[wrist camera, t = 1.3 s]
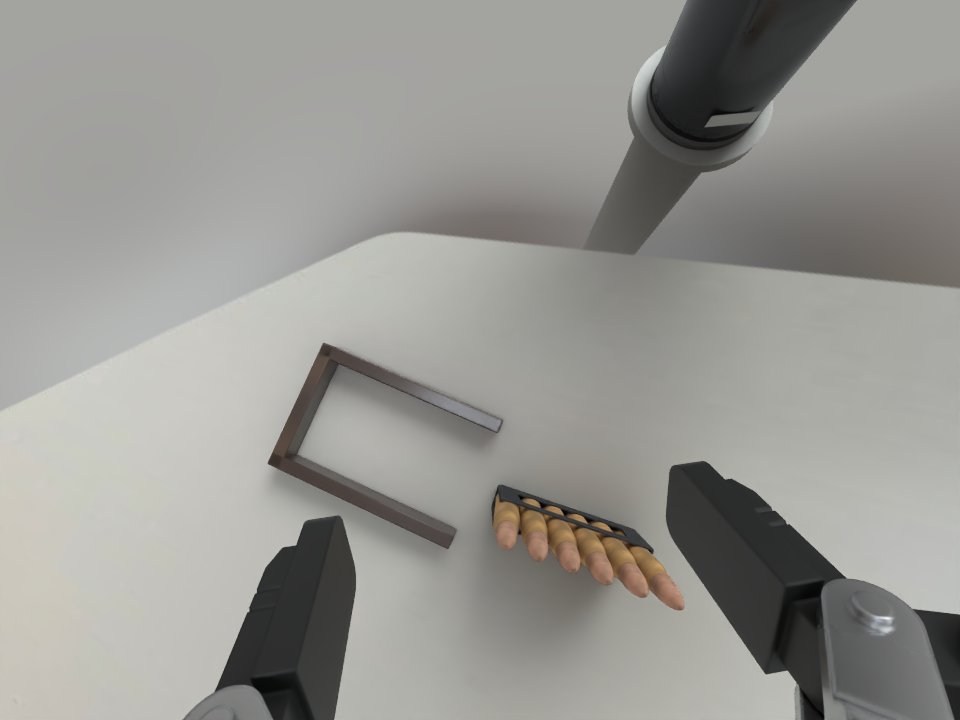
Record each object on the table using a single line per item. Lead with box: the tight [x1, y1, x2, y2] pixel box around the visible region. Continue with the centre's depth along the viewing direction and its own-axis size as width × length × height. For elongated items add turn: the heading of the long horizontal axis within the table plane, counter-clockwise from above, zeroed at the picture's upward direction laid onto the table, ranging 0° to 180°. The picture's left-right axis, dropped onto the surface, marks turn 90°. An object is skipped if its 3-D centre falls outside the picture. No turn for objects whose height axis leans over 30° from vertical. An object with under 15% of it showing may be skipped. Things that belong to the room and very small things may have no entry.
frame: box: [268, 343, 503, 549], centre depth 34 cm, size 10×15×2 cm, turn 67°
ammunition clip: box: [492, 485, 684, 610], centre depth 28 cm, size 11×2×12 cm, turn 72°
